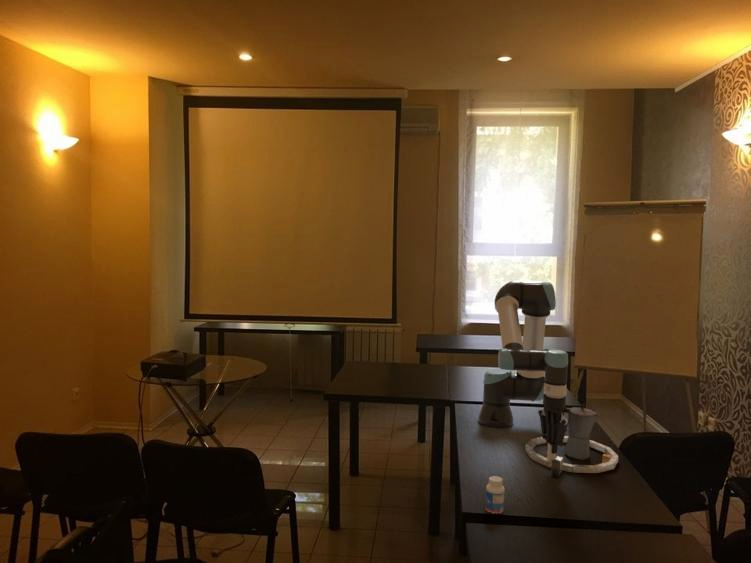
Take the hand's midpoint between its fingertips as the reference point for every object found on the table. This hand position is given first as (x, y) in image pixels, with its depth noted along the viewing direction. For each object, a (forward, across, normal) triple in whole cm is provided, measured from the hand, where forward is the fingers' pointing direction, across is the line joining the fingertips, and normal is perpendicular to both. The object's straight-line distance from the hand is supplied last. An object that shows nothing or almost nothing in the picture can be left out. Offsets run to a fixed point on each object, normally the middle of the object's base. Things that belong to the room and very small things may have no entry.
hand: (551, 461), depth 206 cm
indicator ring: (+4, -6, +14) cm, 16 cm away
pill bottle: (+4, +15, -36) cm, 39 cm away
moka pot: (+4, -8, +20) cm, 22 cm away
